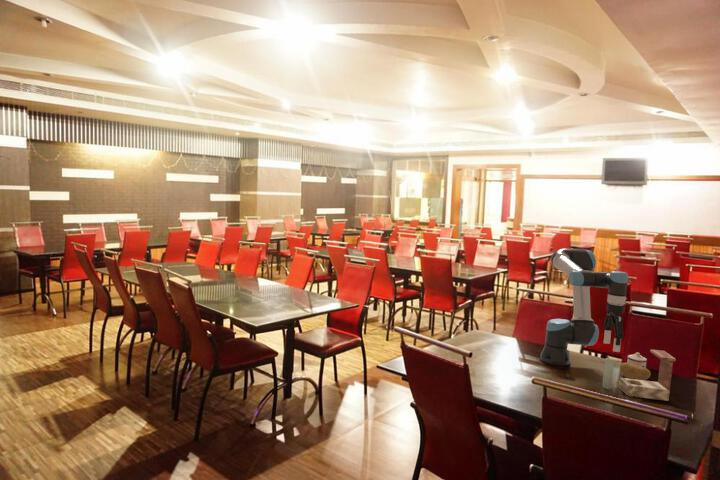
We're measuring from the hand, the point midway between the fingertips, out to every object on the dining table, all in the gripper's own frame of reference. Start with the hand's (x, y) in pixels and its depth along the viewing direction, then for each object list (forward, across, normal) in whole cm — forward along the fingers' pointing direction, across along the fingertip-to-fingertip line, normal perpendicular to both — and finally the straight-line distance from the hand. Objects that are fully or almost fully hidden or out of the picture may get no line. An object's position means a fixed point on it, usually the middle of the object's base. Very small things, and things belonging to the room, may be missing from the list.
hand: (611, 347), depth 229 cm
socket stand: (+20, -3, -15) cm, 25 cm away
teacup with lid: (+20, +27, -23) cm, 41 cm away
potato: (+20, +16, -18) cm, 32 cm away
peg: (+20, 0, 0) cm, 20 cm away
